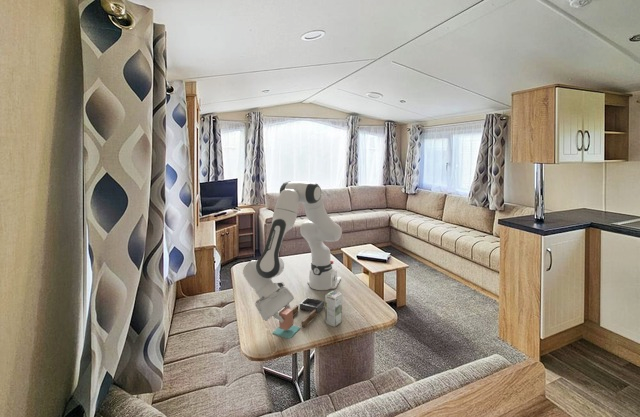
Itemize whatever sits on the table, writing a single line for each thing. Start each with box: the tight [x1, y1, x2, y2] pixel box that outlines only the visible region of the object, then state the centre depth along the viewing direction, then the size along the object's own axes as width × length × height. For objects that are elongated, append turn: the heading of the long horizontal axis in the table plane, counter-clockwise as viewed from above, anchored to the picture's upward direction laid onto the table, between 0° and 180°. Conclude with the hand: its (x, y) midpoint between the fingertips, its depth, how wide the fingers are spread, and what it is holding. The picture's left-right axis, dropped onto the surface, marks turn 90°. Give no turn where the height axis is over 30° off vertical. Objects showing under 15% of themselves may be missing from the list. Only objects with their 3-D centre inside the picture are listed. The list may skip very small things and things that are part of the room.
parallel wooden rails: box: [291, 304, 317, 329], centre depth 148 cm, size 12×11×3 cm
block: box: [278, 307, 294, 330], centre depth 137 cm, size 5×4×8 cm
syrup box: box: [324, 290, 343, 328], centre depth 143 cm, size 6×6×14 cm
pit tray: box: [299, 296, 325, 314], centre depth 159 cm, size 8×10×3 cm
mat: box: [271, 324, 302, 340], centre depth 138 cm, size 9×9×1 cm
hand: (287, 317), depth 137 cm, fingers closed on block, 5 cm apart
